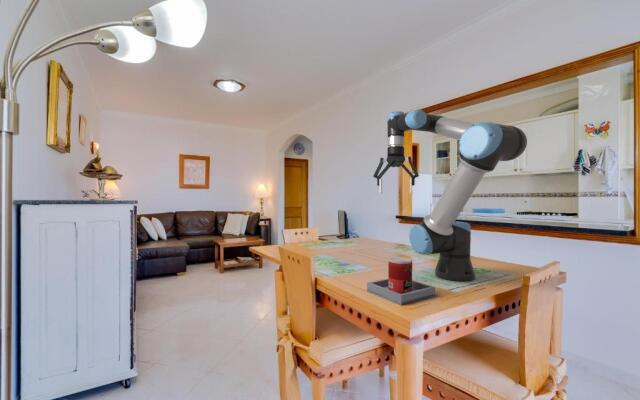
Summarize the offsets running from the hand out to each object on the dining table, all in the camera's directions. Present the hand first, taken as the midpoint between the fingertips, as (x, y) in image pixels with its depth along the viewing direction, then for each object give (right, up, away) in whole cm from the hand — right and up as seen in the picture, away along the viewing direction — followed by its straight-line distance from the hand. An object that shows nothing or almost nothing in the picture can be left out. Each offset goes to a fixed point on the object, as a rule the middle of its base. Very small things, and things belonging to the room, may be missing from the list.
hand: (395, 193), depth 140 cm
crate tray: (-7, -35, -35) cm, 50 cm away
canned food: (-7, -35, -35) cm, 50 cm away
